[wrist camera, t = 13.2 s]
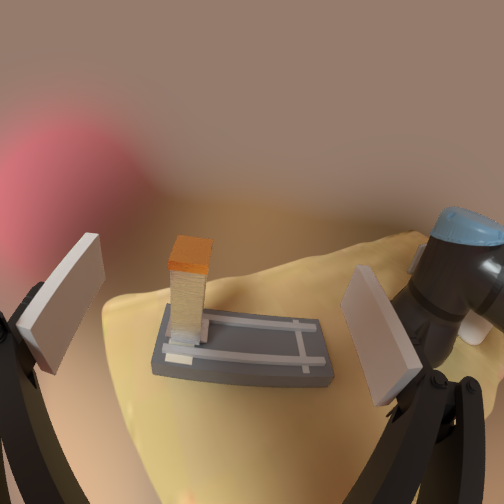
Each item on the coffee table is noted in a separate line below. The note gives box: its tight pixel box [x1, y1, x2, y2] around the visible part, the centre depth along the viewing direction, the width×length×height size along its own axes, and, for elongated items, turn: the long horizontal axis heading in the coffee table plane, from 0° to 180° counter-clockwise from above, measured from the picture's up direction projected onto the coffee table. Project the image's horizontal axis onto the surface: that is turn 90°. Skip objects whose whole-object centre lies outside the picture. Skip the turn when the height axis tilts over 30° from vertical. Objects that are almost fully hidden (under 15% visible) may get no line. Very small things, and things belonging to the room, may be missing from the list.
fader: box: [165, 235, 213, 345], centre depth 29 cm, size 5×5×11 cm
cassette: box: [407, 243, 427, 274], centre depth 62 cm, size 12×2×8 cm, turn 120°
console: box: [151, 303, 334, 387], centre depth 34 cm, size 21×10×3 cm, turn 92°
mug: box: [458, 310, 493, 345], centre depth 43 cm, size 12×8×10 cm
